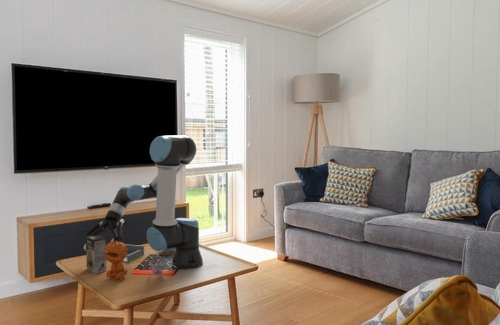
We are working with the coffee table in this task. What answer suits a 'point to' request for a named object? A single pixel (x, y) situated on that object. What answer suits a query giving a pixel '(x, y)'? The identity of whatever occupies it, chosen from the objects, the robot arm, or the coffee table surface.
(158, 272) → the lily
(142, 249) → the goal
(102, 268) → the coffee box
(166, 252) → the teacup
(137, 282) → the coffee table surface
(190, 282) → the coffee table surface
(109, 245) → the orange figurine
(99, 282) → the coffee table surface
